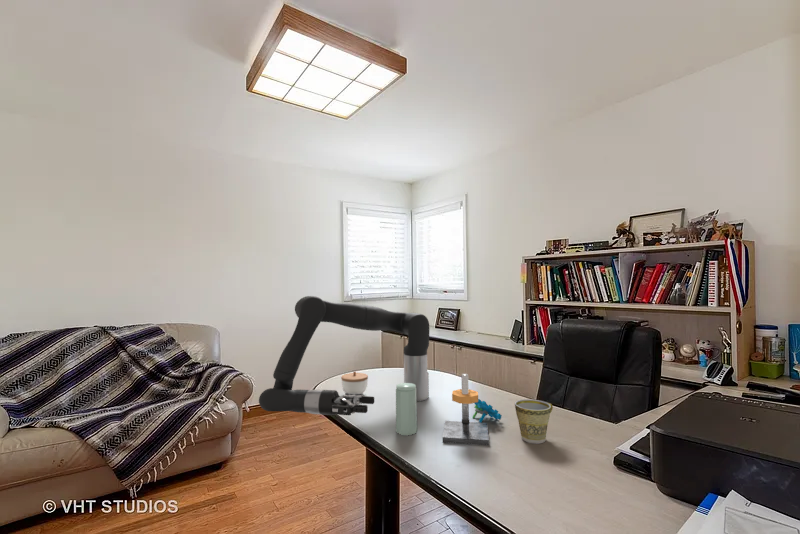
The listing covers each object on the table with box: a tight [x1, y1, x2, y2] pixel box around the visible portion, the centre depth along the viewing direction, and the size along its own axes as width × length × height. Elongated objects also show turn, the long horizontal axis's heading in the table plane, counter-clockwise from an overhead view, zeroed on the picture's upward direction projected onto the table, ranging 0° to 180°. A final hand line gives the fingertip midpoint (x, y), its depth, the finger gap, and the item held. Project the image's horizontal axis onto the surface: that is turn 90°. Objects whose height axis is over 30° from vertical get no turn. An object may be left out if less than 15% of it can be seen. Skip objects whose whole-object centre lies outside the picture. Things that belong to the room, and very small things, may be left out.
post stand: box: [442, 373, 490, 446], centre depth 117 cm, size 13×13×18 cm
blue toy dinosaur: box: [472, 398, 502, 423], centre depth 128 cm, size 11×6×10 cm
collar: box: [451, 388, 479, 405], centre depth 117 cm, size 8×8×2 cm
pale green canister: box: [395, 382, 418, 436], centre depth 120 cm, size 6×6×14 cm
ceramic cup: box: [514, 398, 553, 445], centre depth 115 cm, size 13×10×10 cm
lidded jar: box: [340, 371, 369, 395], centre depth 158 cm, size 11×11×9 cm
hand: (370, 404), depth 122 cm, fingers open, 8 cm apart
